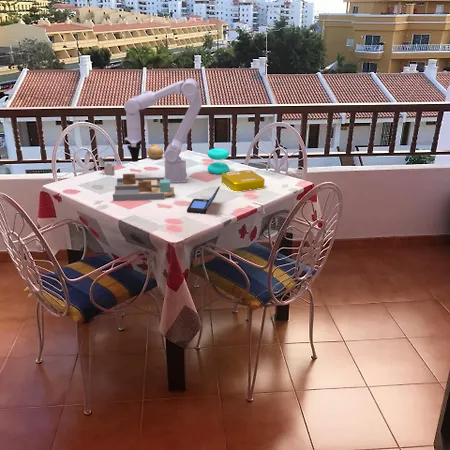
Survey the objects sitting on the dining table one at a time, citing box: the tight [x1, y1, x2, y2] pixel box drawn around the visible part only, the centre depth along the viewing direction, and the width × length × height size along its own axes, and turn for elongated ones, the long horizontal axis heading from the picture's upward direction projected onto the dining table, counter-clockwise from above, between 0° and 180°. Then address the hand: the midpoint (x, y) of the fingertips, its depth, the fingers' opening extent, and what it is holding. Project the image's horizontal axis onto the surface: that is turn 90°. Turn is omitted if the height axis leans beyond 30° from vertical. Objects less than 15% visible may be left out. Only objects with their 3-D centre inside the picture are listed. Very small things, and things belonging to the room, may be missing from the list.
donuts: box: [206, 148, 230, 175], centre depth 222 cm, size 10×10×10 cm
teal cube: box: [160, 179, 171, 192], centre depth 193 cm, size 4×4×4 cm
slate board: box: [112, 176, 165, 202], centre depth 198 cm, size 20×20×2 cm
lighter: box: [97, 156, 116, 176], centre depth 215 cm, size 7×2×8 cm, turn 77°
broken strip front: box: [122, 173, 138, 186], centre depth 201 cm, size 6×8×5 cm
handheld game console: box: [186, 186, 221, 215], centre depth 182 cm, size 12×11×7 cm
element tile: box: [221, 169, 265, 192], centre depth 207 cm, size 15×15×5 cm
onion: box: [146, 143, 164, 160], centre depth 240 cm, size 8×8×7 cm
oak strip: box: [139, 181, 175, 197], centre depth 193 cm, size 14×8×5 cm, turn 97°
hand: (135, 158), depth 208 cm, fingers open, 7 cm apart
